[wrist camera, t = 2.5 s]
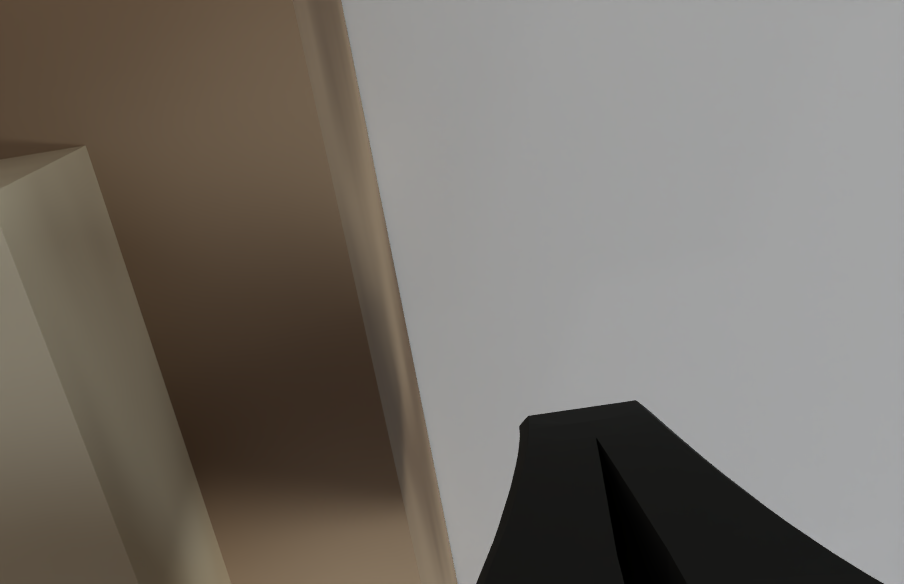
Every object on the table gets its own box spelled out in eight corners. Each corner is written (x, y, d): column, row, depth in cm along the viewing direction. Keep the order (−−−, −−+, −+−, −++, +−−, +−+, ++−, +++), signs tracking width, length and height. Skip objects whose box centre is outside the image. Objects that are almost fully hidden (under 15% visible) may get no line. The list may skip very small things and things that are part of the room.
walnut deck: (469, 640, 16) (477, 836, 13) (-4, 703, 17) (-129, 911, 13) (316, -119, 11) (257, -161, 8) (-359, 2, 12) (-727, 19, 8)
